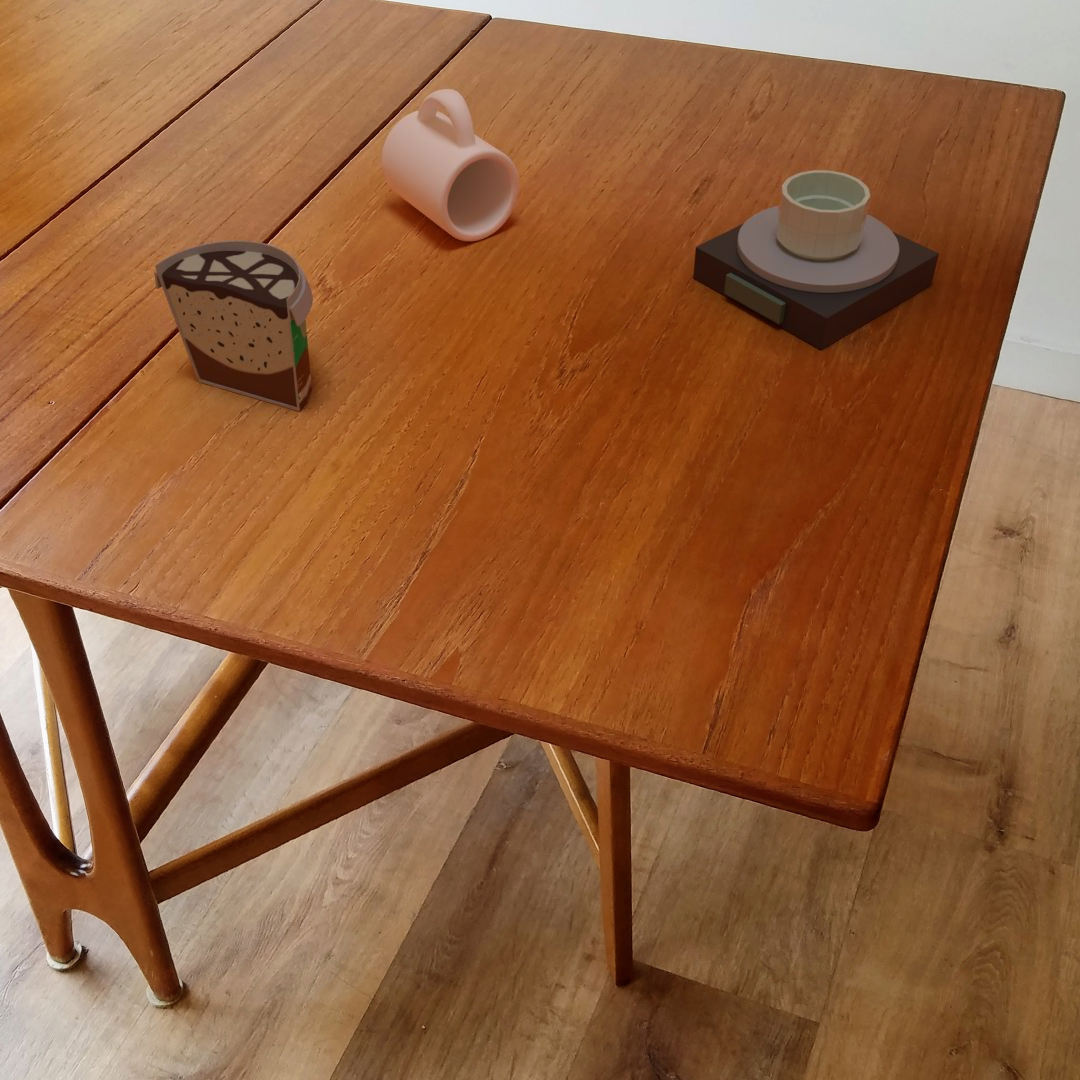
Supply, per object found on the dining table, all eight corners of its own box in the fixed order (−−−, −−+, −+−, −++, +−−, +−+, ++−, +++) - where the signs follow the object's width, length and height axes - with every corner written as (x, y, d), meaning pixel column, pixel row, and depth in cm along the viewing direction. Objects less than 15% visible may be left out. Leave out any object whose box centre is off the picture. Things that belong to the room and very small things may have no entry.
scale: (931, 285, 96) (941, 244, 93) (816, 353, 90) (824, 311, 87) (802, 222, 104) (809, 182, 101) (688, 280, 97) (691, 240, 95)
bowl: (877, 242, 94) (887, 192, 91) (822, 273, 91) (831, 221, 88) (812, 211, 98) (820, 161, 94) (758, 239, 95) (764, 189, 91)
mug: (460, 182, 111) (450, 56, 102) (521, 225, 105) (516, 95, 96) (385, 208, 107) (369, 80, 99) (444, 254, 101) (432, 123, 93)
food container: (360, 371, 89) (341, 257, 82) (317, 416, 85) (293, 301, 78) (229, 335, 93) (201, 223, 86) (182, 377, 89) (148, 263, 82)
